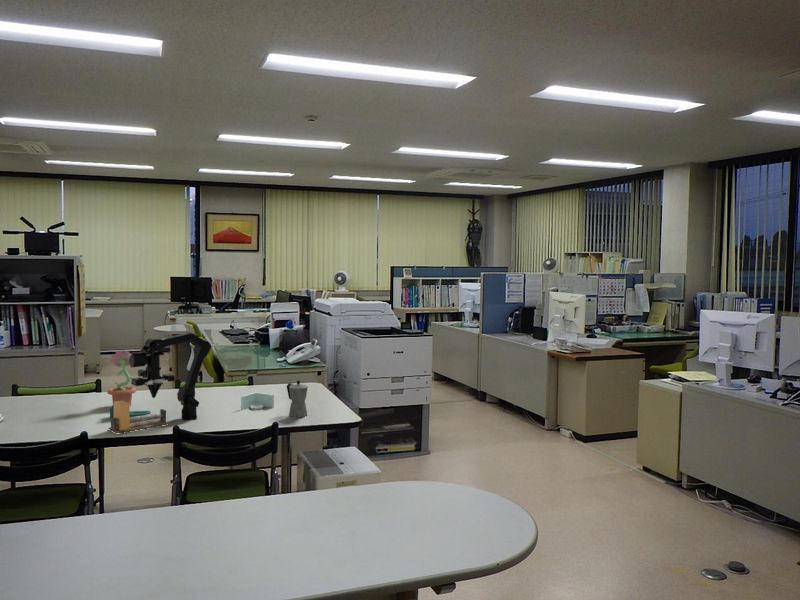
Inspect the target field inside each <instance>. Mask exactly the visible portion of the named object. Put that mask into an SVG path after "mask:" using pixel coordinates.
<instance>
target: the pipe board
mask: <svg viewBox="0 0 800 600" xmlns="http://www.w3.org/2000/svg"><path fill="white" fill-rule="evenodd" d="M167 424H169V425H170V423H169V422H167V410H166V409H164V408H160V410H159V412H155V413H150V414H148V415H142V416H136V417H130V429H127V430H121V431H120V430H119V429H117V426H119V420H117V419H116V418H114V417H112V418H111V420H110V427H108V429H110V430H111V431H113V432H115V433H124V432H129V433H131V432H130V431H135V430H140V429H145V430H148V429H147V428H151V429H153V428H152V427H156V426H161V427H163V426H162V425H167ZM167 426H168V425H167ZM156 428H157V427H156ZM108 429H107V430H108ZM111 431H110V432H111ZM140 431H141V430H140ZM113 432H112V433H113ZM135 432H136V431H135ZM115 433H114V434H115ZM124 434H125V433H124Z"/></svg>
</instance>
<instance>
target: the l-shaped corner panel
mask: <svg viewBox="0 0 800 600" xmlns="http://www.w3.org/2000/svg"><path fill="white" fill-rule="evenodd" d="M240 401H241V402H240V403H241V405H240V410H242V411H243V410H246V409H250V410H251V411H259V410H263V409H264V407H265V408H270V409H271V408H272V409H273V408H274V407H275V394H271V393H264V392H257V391H256V392H252V393H247V394H245V395H241V399H240Z"/></svg>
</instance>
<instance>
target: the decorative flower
mask: <svg viewBox="0 0 800 600" xmlns="http://www.w3.org/2000/svg"><path fill="white" fill-rule="evenodd" d="M129 355H130V356H131V352H130V351H126V350H125V351H123V350H117V351H116V352H115V354H114V353H113V354H111V357H110V360H109V362H110V363H111V364H112V365H113V366H115V367H118V368H121V370H120V371H118V372H117V375H116V376H120V375H122V374H124V375H125V376H124V377H125V378H126V381H123V382H120V383H118V382H117V383H115V382H114V384H115V385H116V386H115V387H110V388H109V389H108V390H107V394H108V395H109V396H110V395H111V398H112V399H111V401H112V403H113V402H115V401H125V402H127V403H129V407H131V406H132V400H133V394H135V393H137V388H136V387H135V386H127V385H128V384H129V383H131V380H132V379H133V378H134V377H131V376H130V374H129V372H128V370H127V366H130V364H129V359H130V356H129Z"/></svg>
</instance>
